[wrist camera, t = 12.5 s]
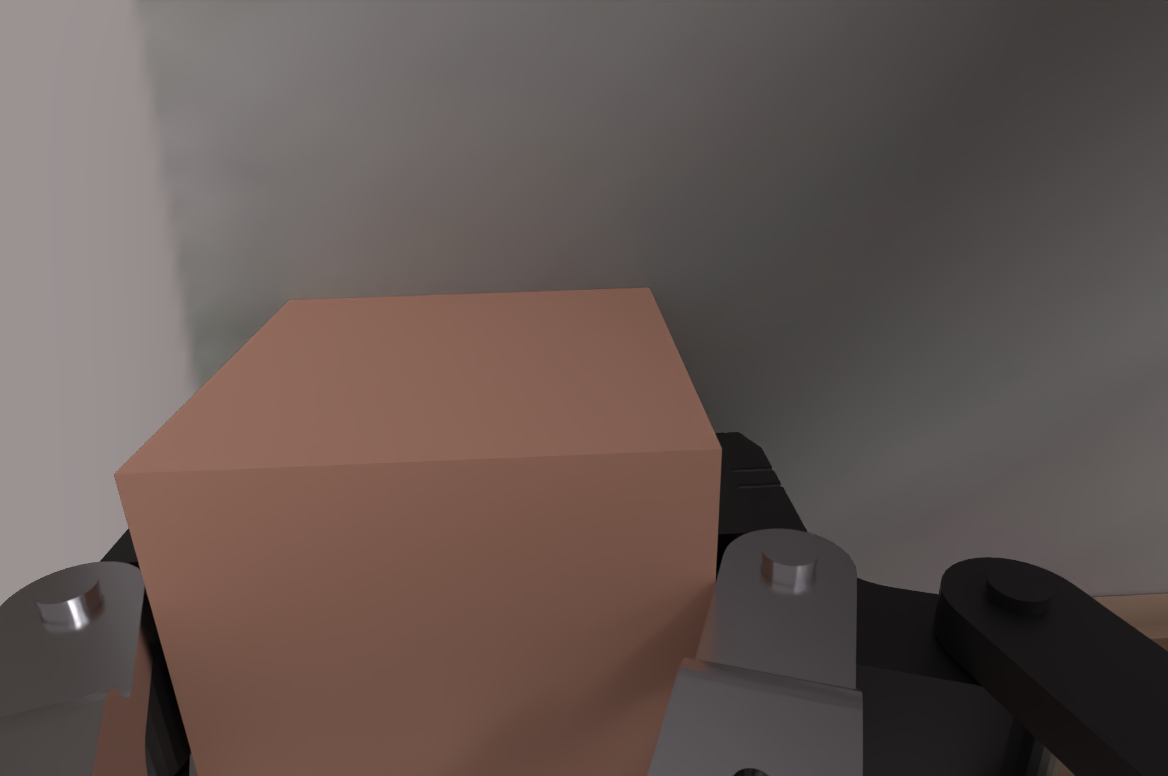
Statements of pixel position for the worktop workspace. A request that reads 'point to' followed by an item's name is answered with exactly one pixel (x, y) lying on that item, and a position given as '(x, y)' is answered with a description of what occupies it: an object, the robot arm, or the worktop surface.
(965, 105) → the worktop surface
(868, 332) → the worktop surface
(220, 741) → the top block
